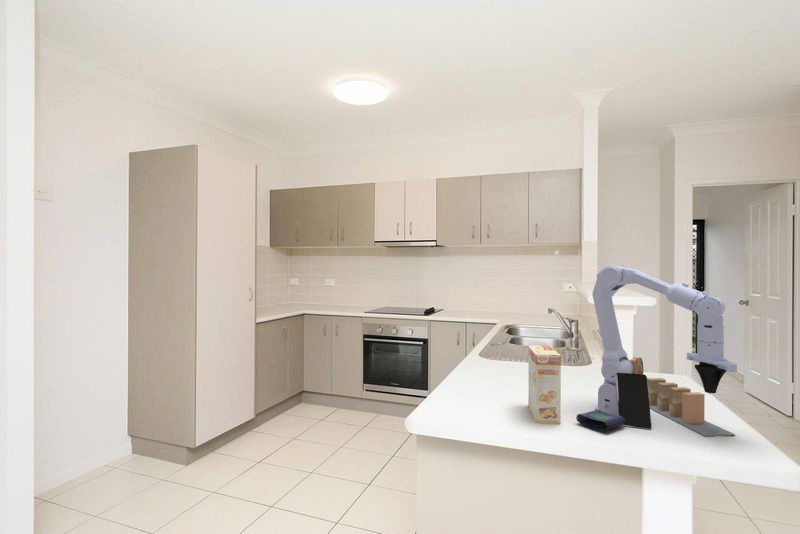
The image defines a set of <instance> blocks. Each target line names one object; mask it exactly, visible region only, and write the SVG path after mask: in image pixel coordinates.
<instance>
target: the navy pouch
mask: <svg viewBox="0 0 800 534" xmlns="http://www.w3.org/2000/svg"><path fill="white" fill-rule="evenodd" d="M575 418H576V421H577V423H579V424H580V425H583V426H585V427H587V428H588V429H589V428H590V429H592V430H595V431H600V432H605V431H608V430H611V429H614V428H617V427H621V426H620V425H624V424H625V419H624V418H623V417H622V416H615V415H613V414H608V413H605V412H602V411H600V410H591V411H586V412H583V413H582V412H581V413H577V414H576V417H575Z"/></svg>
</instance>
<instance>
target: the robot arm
mask: <svg viewBox="0 0 800 534" xmlns="http://www.w3.org/2000/svg"><path fill="white" fill-rule="evenodd" d="M634 284H637V285H639V286H642V287H644V288H647V289H649V290H651V291H654V292H657V293H659V294H662V295H665V297H666V299H667V301H668V302H670V303H672V304H675V305H677V306H678V307H679V306H680V307H681V308H684V309H686V310H688V311H691V312H694V311H695V314H696V315H697V327H696V328H697V331H696V334H697V336H696V337H697V340H696V341H697V342H696V344H697V351H696V352H697V353H696V352H686V360H688V361H694V362H696V363H698V364H694V368H695V370H696V371H697V374H698V375H699V378H700V380H701V384H702V387H703V391H704V392H705V393H707V394H717V391H718V388H719V384H720V382H721V379H722V378H723V376H724V375H725V374H726V372H729V373H730V372H732V373H734V372H735V373H736V372H738V365H737V363H734V362H732V361H730V360H728V358H726V357H725V356H724V352H725V351H724V350H725V349H724V348H725V346H724V344H725V336H724V335H725V330H724V329H725V327H724V312H725V311H726V304H725V302H724V301H723V300H722V299H721V298H720V297H718V296H717V295H715V294H714V295H710V294H709V295H708V292H707V291H705V290H703V291H700V290H697V289H695V288H693V287H690V285H689V284H688V283H686V282H682V283H680V282H675V283H673V284H671V283H668V282H666V281H664V280H661V279H659V278H657V277H654V276H652V275H649V274H648V273H645V272H643V271H641V270H638V269H635V268H631V267H628V266H625V265H622V264H621V265H606V266H604V267H603V268H602V269H601V270H600V271H598V273H597V274H596V281H595V284H594V287H593V291H592V292H591V293H592V299H593V304H594V308H595V313H596V314H595V315H596V318H597V323H598V328H599V329H598V330H599V332H600V338H601V343H602V347H603V353H602V356H601V360H602V366H601V369H600V371H601V375H602V377H603V378H604V379H603V384H601V385H600V386H599V387H598V391H597V407H595V408H594V409H595V410H600V411H602V412H604V413H607V414H613V415H615V416H618V400H617V390H616V374H617V373H630V374H632V372H633V365H632V363H631V362H630V360H631V359H629V357H628V353H627V352H626V350H625V349H624V348H623V344H622V343H623V342H622V339H621V334H620V331H619V325H618V320H617V316H616V312H615V306H614V302H613V297H614V296H615V294H617V292H618V291H619V289H621V288H623V287H625V286H626V285H634ZM595 410H594V411H595Z"/></svg>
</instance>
